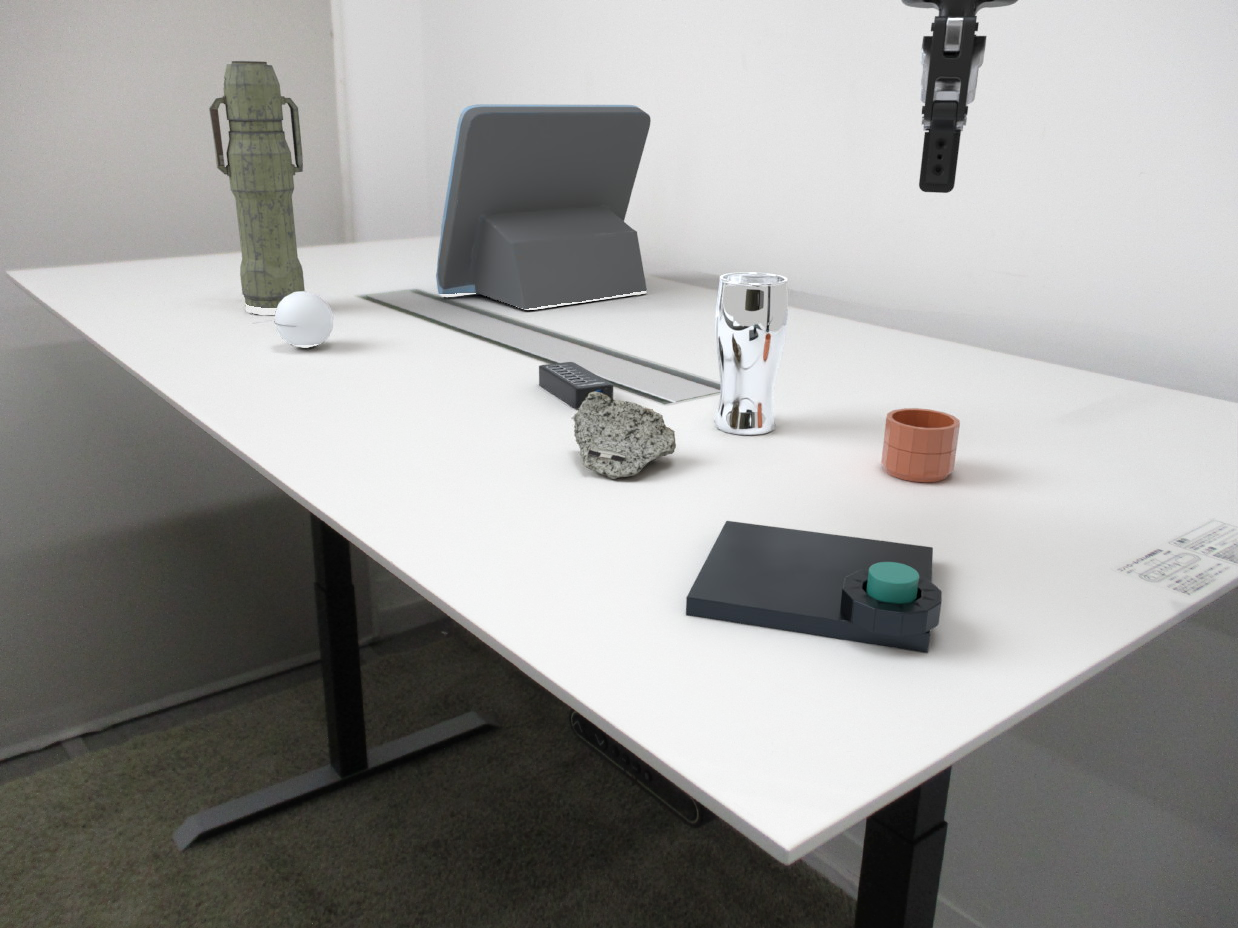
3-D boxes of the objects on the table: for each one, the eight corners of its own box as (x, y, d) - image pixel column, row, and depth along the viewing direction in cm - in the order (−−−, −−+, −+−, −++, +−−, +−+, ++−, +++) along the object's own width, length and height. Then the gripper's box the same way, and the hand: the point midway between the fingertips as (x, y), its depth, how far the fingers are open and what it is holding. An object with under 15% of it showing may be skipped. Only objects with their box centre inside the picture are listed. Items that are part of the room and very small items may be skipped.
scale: (937, 565, 72) (942, 527, 71) (935, 663, 60) (941, 618, 59) (725, 537, 76) (727, 500, 75) (681, 623, 64) (683, 580, 63)
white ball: (333, 339, 135) (328, 285, 133) (338, 352, 129) (333, 295, 126) (254, 344, 132) (248, 288, 129) (256, 358, 125) (249, 299, 123)
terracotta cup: (952, 464, 92) (959, 412, 91) (952, 487, 87) (960, 432, 85) (882, 456, 94) (888, 405, 92) (878, 479, 88) (884, 425, 87)
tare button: (917, 587, 63) (919, 565, 63) (915, 609, 61) (918, 586, 60) (868, 580, 64) (870, 558, 64) (864, 601, 61) (867, 578, 61)
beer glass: (783, 437, 99) (795, 285, 94) (712, 436, 99) (720, 283, 94) (774, 416, 105) (785, 272, 100) (708, 415, 105) (715, 271, 100)
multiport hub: (573, 380, 118) (572, 361, 117) (614, 405, 108) (614, 384, 108) (537, 384, 116) (537, 365, 115) (577, 410, 106) (577, 389, 106)
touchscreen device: (599, 274, 185) (603, 101, 174) (670, 294, 171) (680, 108, 160) (431, 296, 164) (424, 100, 153) (497, 320, 150) (495, 107, 139)
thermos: (228, 308, 153) (197, 61, 141) (306, 301, 159) (283, 63, 147) (241, 319, 146) (210, 60, 134) (322, 311, 152) (299, 62, 140)
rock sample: (555, 442, 84) (598, 360, 88) (542, 472, 92) (582, 395, 95) (665, 498, 85) (703, 414, 88) (643, 523, 92) (680, 445, 95)
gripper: (1038, -98, 57) (997, 199, 62) (1025, -62, 69) (992, 181, 75) (901, -93, 59) (873, 194, 64) (912, -59, 71) (888, 178, 77)
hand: (937, 187), depth 70 cm, fingers open, 8 cm apart
